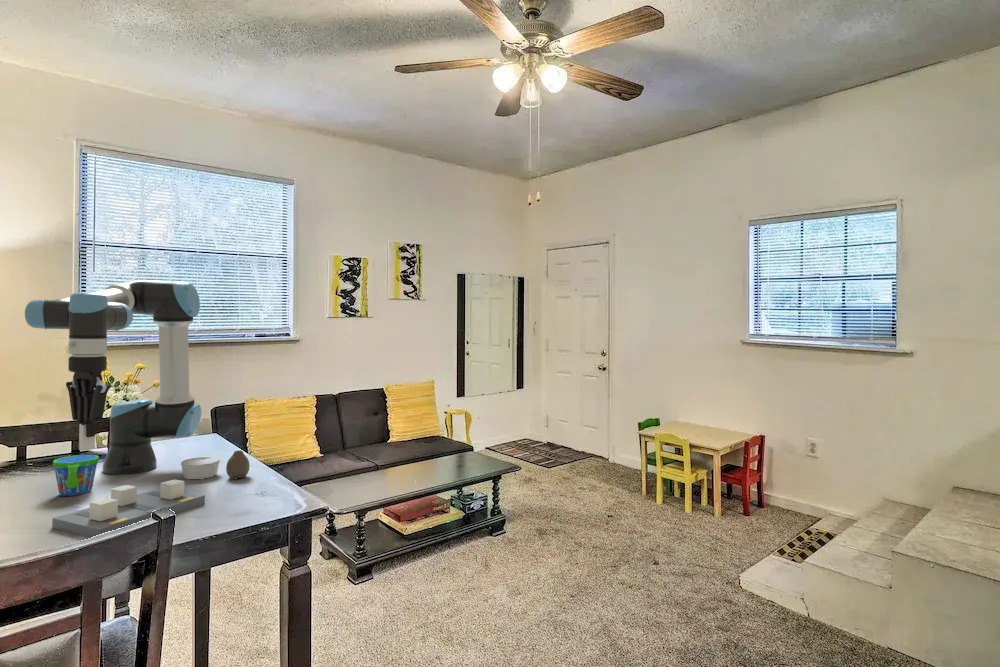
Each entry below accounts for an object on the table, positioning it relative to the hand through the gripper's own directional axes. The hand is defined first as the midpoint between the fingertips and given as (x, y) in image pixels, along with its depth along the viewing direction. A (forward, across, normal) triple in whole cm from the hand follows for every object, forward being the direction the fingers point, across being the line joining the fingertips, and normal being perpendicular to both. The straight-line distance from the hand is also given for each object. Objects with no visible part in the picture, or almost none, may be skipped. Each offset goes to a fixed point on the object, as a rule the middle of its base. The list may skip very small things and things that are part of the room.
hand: (86, 449), depth 133 cm
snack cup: (+19, -26, +13) cm, 35 cm away
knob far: (+16, +8, +17) cm, 25 cm away
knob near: (+16, +8, -1) cm, 18 cm away
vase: (+20, +2, +45) cm, 49 cm away
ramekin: (+20, -10, +41) cm, 47 cm away
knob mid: (+16, +2, +8) cm, 18 cm away
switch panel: (+19, +6, +8) cm, 21 cm away
